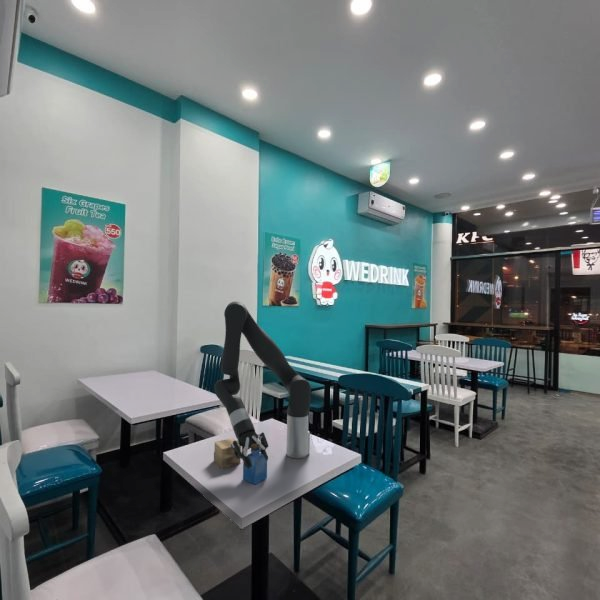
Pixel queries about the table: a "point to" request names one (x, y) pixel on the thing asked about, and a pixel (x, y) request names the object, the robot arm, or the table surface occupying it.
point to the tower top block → (225, 448)
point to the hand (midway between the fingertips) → (258, 464)
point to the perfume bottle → (255, 466)
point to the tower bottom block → (226, 461)
